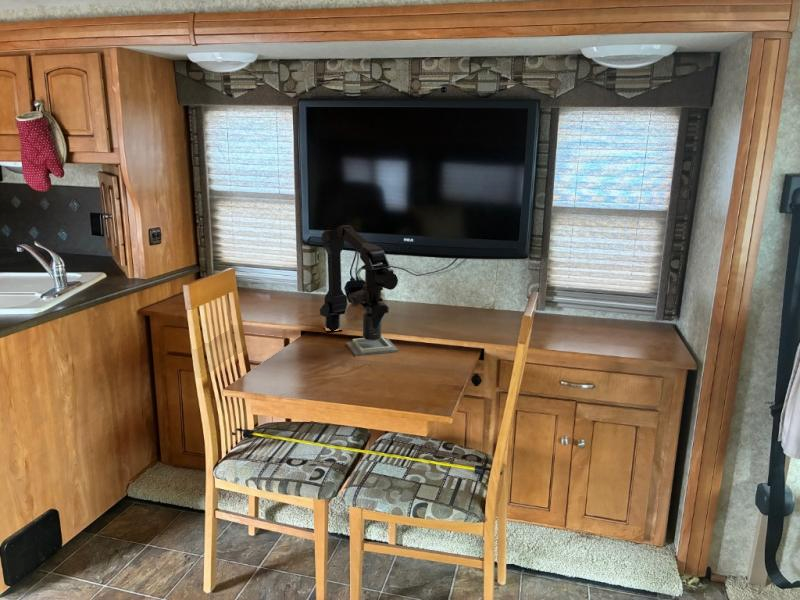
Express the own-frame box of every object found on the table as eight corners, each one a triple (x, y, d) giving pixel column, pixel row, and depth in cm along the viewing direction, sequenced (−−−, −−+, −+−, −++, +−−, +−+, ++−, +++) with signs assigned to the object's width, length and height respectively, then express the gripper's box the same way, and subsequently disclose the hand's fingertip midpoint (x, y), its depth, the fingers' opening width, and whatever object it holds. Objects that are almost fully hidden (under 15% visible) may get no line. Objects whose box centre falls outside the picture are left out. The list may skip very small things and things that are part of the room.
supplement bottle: (360, 335, 222) (360, 303, 219) (377, 333, 225) (378, 302, 221) (365, 341, 216) (366, 309, 213) (383, 339, 218) (384, 307, 215)
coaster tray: (346, 344, 224) (346, 339, 224) (387, 340, 229) (387, 335, 229) (355, 355, 213) (355, 350, 213) (398, 351, 219) (398, 346, 218)
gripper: (344, 278, 221) (344, 319, 225) (358, 291, 204) (357, 335, 208) (373, 276, 224) (372, 317, 229) (389, 289, 207) (388, 333, 212)
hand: (372, 325), depth 219 cm, fingers closed on supplement bottle, 7 cm apart
